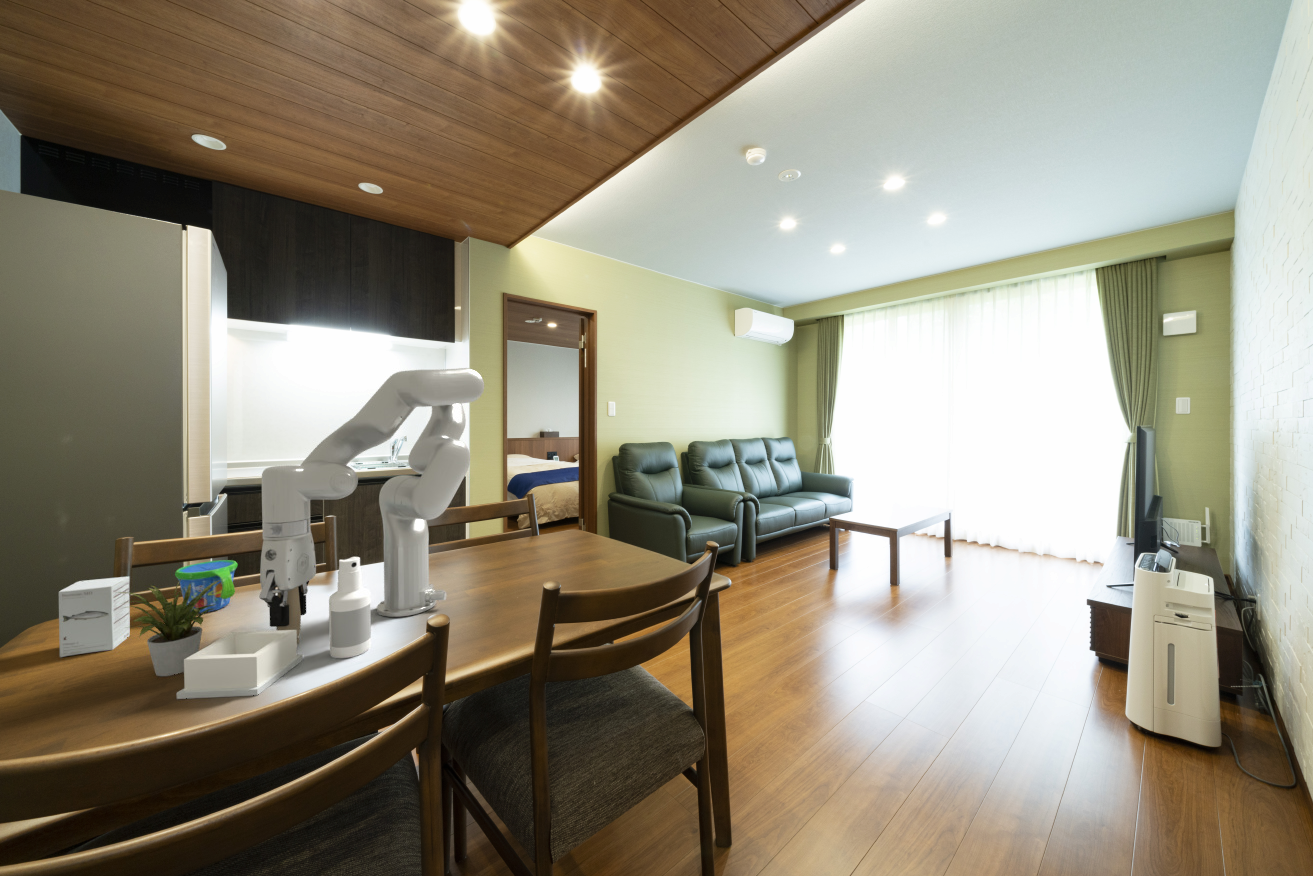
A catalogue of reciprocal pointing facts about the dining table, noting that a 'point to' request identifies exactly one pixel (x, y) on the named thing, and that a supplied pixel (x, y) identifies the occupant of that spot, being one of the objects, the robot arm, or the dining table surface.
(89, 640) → the supplement box
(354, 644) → the spray bottle
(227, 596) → the snack cup
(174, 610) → the house plant
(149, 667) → the dining table surface
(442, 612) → the dining table surface
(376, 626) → the dining table surface
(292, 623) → the handle
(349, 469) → the robot arm
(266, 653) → the box
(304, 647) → the dining table surface
